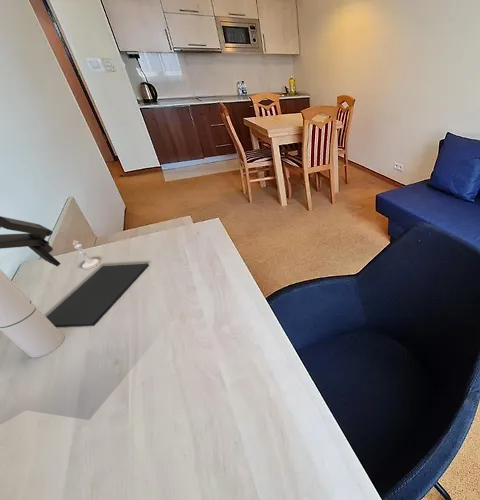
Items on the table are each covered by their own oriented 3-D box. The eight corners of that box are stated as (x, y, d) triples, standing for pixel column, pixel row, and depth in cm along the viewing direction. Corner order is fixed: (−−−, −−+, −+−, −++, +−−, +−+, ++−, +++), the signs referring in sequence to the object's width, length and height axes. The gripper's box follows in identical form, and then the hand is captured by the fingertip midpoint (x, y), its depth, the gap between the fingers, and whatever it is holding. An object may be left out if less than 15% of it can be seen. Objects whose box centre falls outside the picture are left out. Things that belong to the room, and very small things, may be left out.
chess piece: (79, 268, 103) (61, 244, 97) (91, 260, 107) (74, 236, 101) (91, 269, 102) (73, 245, 96) (103, 260, 106) (86, 236, 100)
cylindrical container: (62, 329, 80) (-9, 252, 66) (65, 344, 76) (-11, 266, 61) (27, 346, 76) (-57, 268, 62) (29, 363, 72) (-62, 283, 57)
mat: (37, 327, 81) (35, 325, 81) (104, 267, 102) (102, 265, 102) (94, 325, 80) (92, 323, 80) (149, 265, 101) (148, 263, 101)
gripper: (-203, 326, 31) (-37, 364, 48) (32, 178, 45) (94, 249, 62) (-271, 293, 31) (-80, 343, 48) (-14, 154, 45) (61, 232, 62)
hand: (18, 290), depth 55 cm, fingers open, 13 cm apart
